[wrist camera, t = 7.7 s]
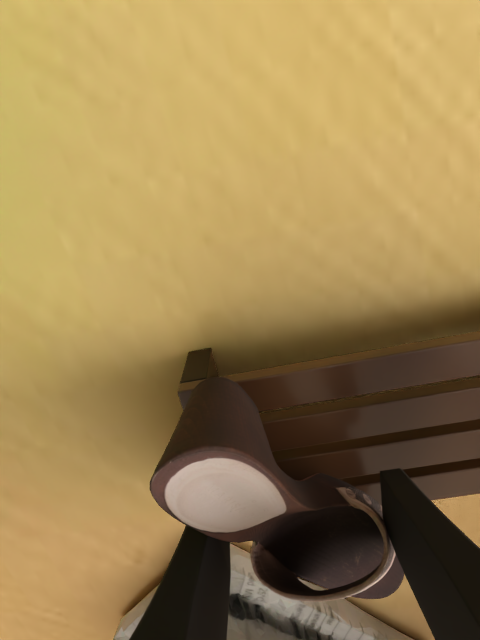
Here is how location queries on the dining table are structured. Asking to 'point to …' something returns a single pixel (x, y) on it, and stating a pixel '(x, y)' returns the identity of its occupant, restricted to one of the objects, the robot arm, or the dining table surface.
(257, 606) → the packaged product
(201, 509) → the heeled mule
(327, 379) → the slatted bench
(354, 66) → the dining table surface
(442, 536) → the robot arm
